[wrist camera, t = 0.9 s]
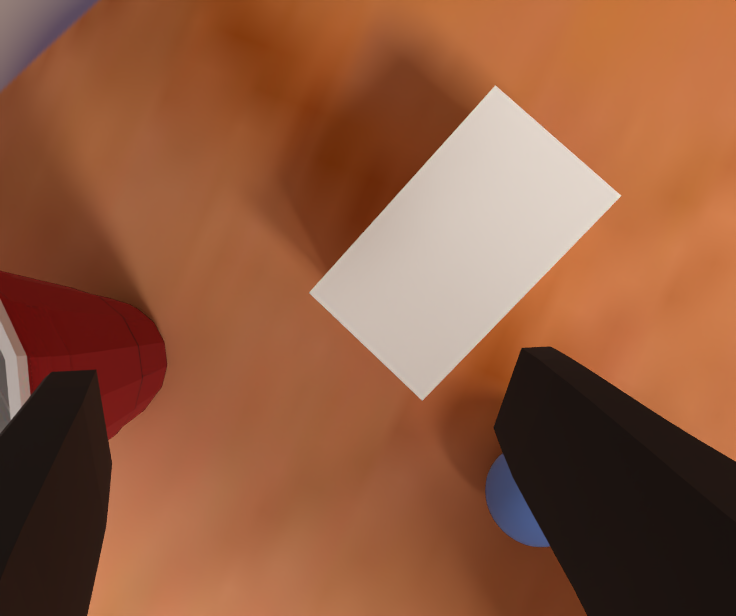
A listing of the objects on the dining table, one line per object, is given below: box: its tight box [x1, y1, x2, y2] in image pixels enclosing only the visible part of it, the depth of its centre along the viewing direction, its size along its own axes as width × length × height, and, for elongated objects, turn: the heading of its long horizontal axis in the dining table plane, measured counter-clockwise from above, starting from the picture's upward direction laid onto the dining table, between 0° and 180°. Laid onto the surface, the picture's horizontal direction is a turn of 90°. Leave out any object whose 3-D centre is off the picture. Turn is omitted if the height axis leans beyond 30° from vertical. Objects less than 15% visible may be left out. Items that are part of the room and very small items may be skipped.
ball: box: [485, 453, 550, 547], centre depth 23 cm, size 4×4×4 cm
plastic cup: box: [0, 271, 167, 440], centre depth 22 cm, size 11×11×12 cm
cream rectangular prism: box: [309, 86, 621, 401], centre depth 22 cm, size 6×10×5 cm, turn 138°
